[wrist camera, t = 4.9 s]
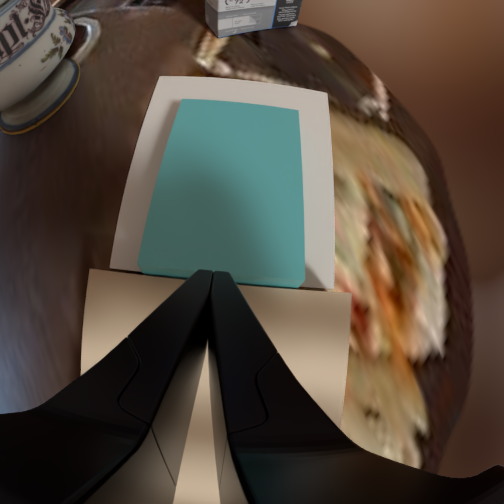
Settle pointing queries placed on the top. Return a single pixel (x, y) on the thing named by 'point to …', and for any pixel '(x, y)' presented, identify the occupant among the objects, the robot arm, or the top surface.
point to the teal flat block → (229, 196)
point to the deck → (269, 315)
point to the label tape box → (250, 15)
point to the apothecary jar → (34, 63)
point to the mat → (179, 87)
